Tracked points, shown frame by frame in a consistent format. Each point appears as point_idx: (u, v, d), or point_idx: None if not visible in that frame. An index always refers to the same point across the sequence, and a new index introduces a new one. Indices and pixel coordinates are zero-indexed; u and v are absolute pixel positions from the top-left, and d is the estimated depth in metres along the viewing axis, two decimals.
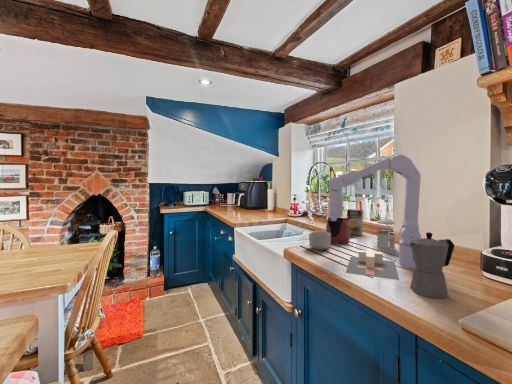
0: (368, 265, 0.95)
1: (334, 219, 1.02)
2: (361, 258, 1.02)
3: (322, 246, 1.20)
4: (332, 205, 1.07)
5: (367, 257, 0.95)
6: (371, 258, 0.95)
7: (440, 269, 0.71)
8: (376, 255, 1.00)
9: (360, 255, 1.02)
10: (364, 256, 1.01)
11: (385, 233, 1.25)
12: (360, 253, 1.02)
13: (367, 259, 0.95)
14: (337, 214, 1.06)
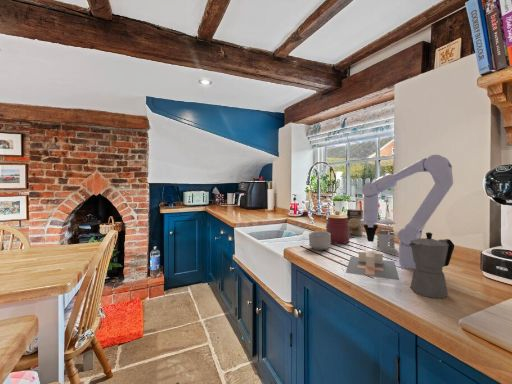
0: (368, 265, 0.95)
1: (371, 225, 1.01)
2: (361, 258, 1.02)
3: (322, 246, 1.20)
4: (367, 211, 1.05)
5: (367, 257, 0.95)
6: (371, 258, 0.95)
7: (440, 269, 0.71)
8: (376, 255, 1.00)
9: (360, 255, 1.02)
10: (364, 256, 1.01)
11: (385, 233, 1.25)
12: (360, 253, 1.02)
13: (367, 259, 0.95)
14: (373, 220, 1.04)
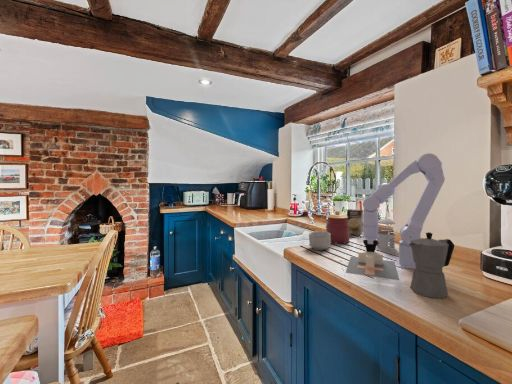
0: (368, 266, 0.95)
1: (371, 242, 0.97)
2: (361, 259, 1.01)
3: (322, 246, 1.20)
4: (367, 226, 1.01)
5: (367, 258, 0.95)
6: (371, 259, 0.94)
7: (440, 269, 0.71)
8: (376, 256, 0.99)
9: (360, 256, 1.01)
10: (364, 257, 1.01)
11: (385, 233, 1.25)
12: (360, 254, 1.01)
13: (367, 260, 0.95)
14: (373, 236, 1.01)
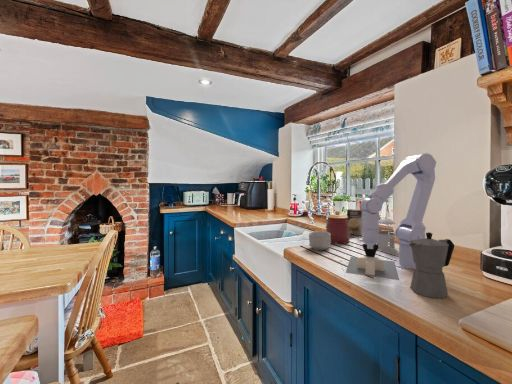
0: (368, 273, 0.87)
1: (371, 247, 0.90)
2: (360, 264, 0.94)
3: (322, 246, 1.20)
4: (367, 230, 0.94)
5: (367, 264, 0.87)
6: (371, 265, 0.87)
7: (440, 269, 0.71)
8: (376, 261, 0.91)
9: (359, 261, 0.94)
10: (363, 262, 0.93)
11: (385, 233, 1.25)
12: (359, 259, 0.94)
13: (367, 266, 0.87)
14: (373, 240, 0.93)
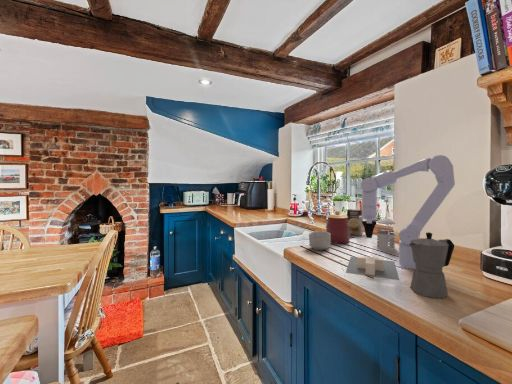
0: (368, 273, 0.87)
1: (370, 221, 0.99)
2: (360, 264, 0.94)
3: (322, 246, 1.20)
4: (366, 207, 1.04)
5: (367, 264, 0.87)
6: (371, 265, 0.87)
7: (440, 269, 0.71)
8: (376, 261, 0.91)
9: (359, 261, 0.94)
10: (363, 262, 0.93)
11: (385, 233, 1.25)
12: (359, 259, 0.94)
13: (367, 266, 0.87)
14: (371, 216, 1.03)
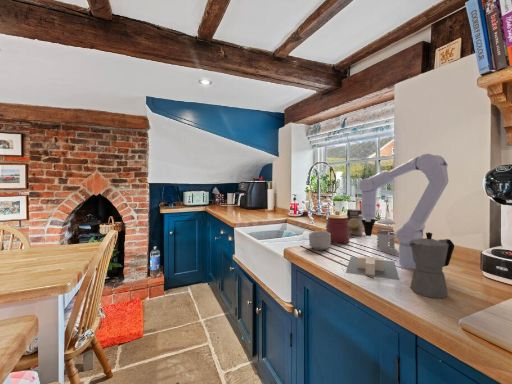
0: (368, 273, 0.87)
1: (369, 220, 1.04)
2: (360, 264, 0.94)
3: (322, 246, 1.20)
4: (365, 206, 1.08)
5: (367, 264, 0.87)
6: (371, 265, 0.87)
7: (440, 269, 0.71)
8: (376, 261, 0.91)
9: (359, 261, 0.94)
10: (363, 262, 0.93)
11: (385, 233, 1.25)
12: (359, 259, 0.94)
13: (367, 266, 0.87)
14: (370, 215, 1.07)
